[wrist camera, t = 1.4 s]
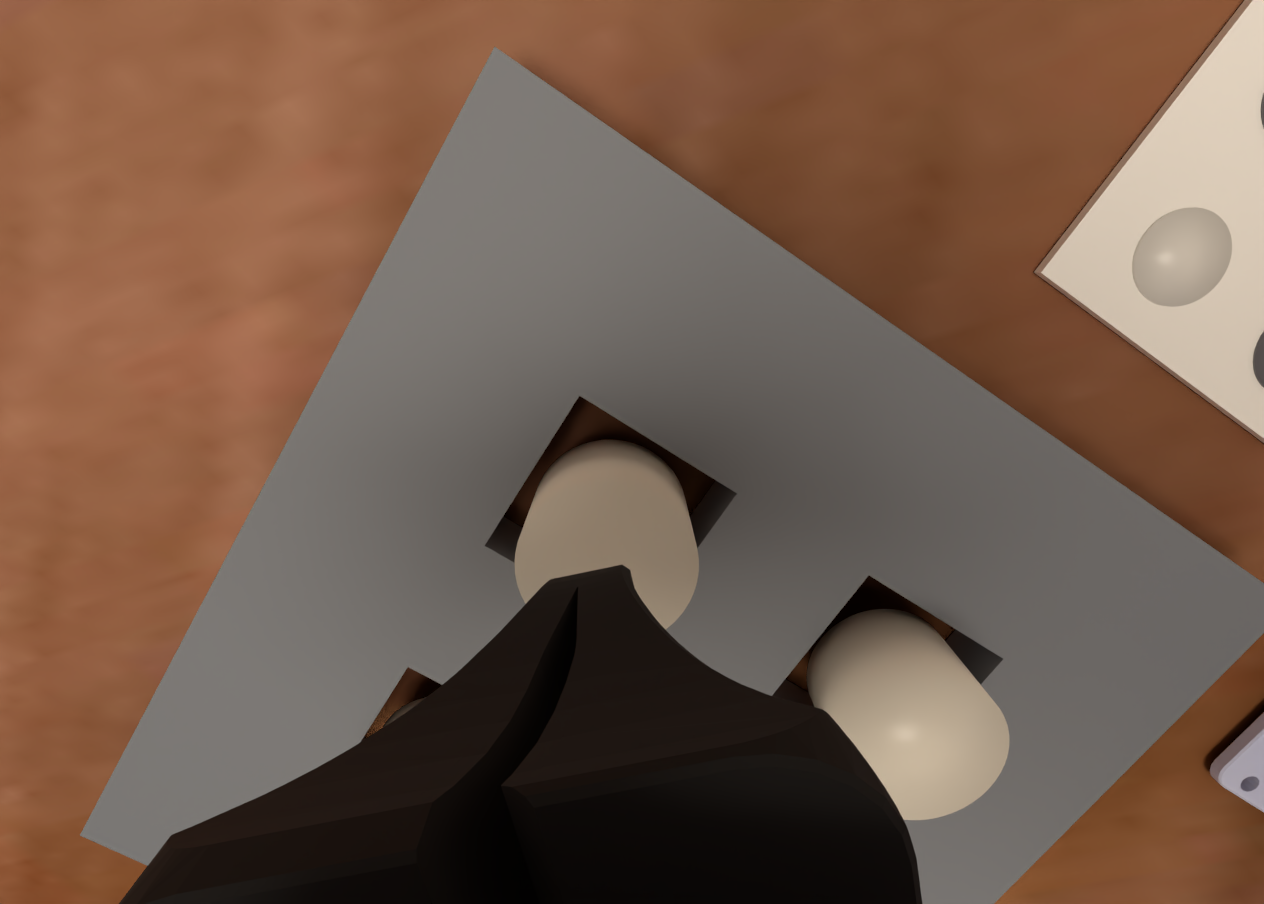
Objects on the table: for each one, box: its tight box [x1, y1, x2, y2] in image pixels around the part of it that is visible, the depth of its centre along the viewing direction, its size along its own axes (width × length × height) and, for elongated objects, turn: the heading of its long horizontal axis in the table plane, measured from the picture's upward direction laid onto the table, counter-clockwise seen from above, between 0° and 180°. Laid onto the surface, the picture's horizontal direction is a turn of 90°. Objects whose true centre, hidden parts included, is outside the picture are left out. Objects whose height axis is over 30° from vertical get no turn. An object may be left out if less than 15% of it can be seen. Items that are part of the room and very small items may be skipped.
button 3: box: [514, 440, 699, 630], centre depth 15 cm, size 4×4×3 cm
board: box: [80, 47, 1264, 904], centre depth 19 cm, size 22×22×2 cm
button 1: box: [806, 609, 1009, 820], centre depth 16 cm, size 4×4×3 cm
